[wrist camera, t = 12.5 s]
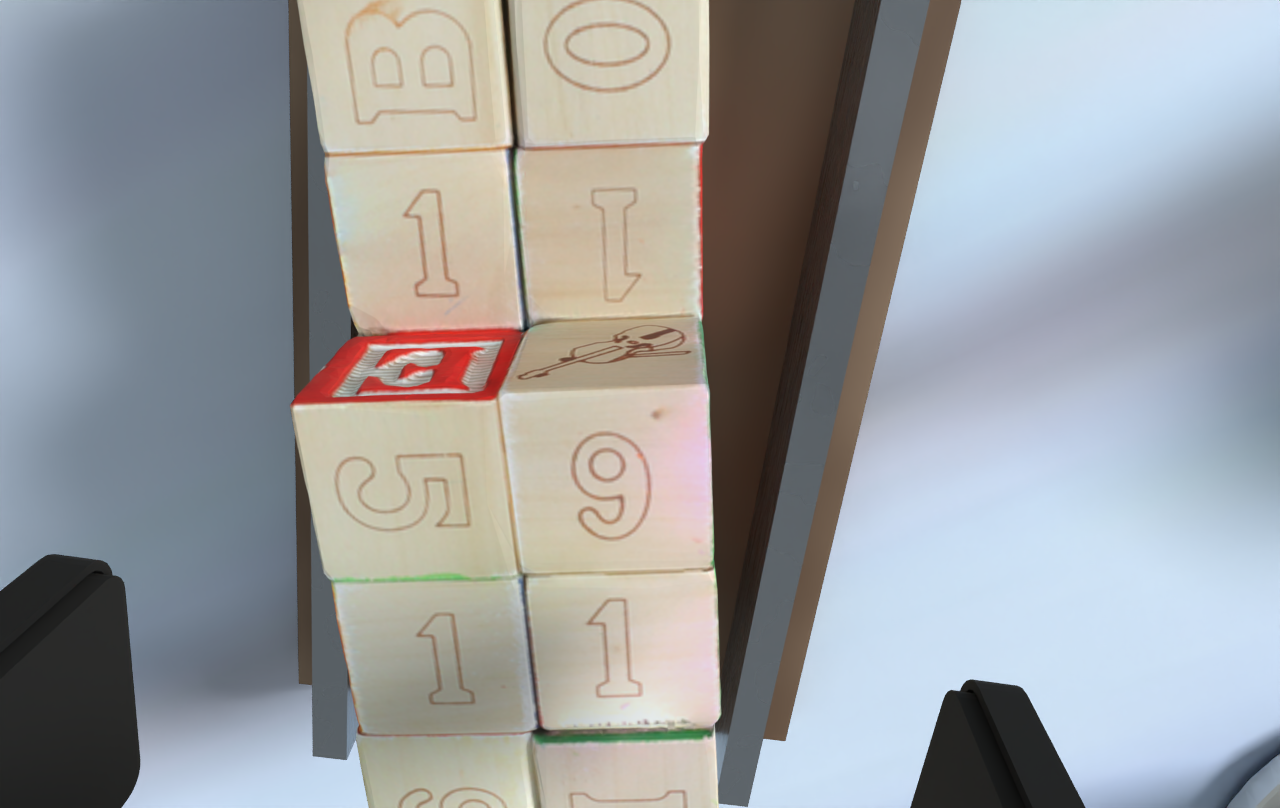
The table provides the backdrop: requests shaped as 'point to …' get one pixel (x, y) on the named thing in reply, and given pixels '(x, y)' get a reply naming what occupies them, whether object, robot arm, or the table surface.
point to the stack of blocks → (518, 399)
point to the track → (723, 321)
